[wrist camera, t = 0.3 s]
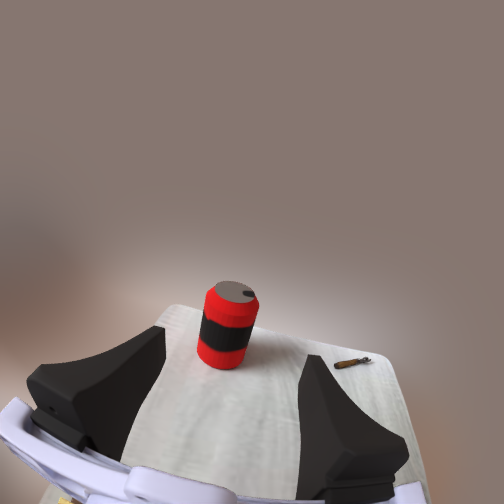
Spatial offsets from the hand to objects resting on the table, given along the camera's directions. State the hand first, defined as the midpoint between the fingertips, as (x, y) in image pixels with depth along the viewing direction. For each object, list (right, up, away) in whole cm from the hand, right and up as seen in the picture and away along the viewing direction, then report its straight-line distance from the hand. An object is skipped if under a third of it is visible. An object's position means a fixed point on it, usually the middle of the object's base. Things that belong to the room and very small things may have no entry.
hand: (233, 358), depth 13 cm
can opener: (+22, -16, +31) cm, 41 cm away
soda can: (-4, -11, +29) cm, 32 cm away
